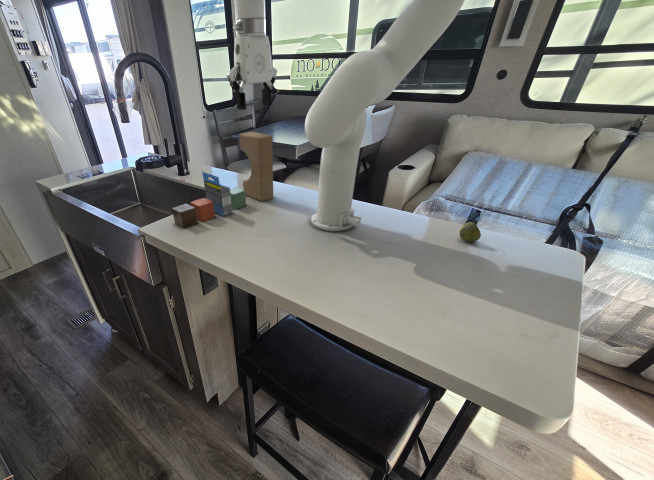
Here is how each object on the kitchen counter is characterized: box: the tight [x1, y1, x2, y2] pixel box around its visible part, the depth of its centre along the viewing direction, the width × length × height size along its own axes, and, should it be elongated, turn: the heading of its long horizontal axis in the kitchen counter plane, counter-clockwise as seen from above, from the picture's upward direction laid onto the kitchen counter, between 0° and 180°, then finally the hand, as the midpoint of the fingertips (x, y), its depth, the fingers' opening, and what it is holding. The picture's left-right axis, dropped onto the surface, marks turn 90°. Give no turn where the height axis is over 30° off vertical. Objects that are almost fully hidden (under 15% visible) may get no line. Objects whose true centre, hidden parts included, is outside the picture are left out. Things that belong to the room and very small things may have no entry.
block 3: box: [230, 187, 247, 210], centre depth 104 cm, size 5×5×5 cm
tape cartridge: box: [201, 171, 233, 217], centre depth 98 cm, size 9×4×12 cm, turn 43°
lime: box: [458, 221, 482, 243], centre depth 78 cm, size 4×5×5 cm
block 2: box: [190, 197, 216, 223], centre depth 97 cm, size 5×5×5 cm
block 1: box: [171, 203, 199, 229], centre depth 94 cm, size 5×5×5 cm
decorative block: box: [238, 131, 274, 202], centre depth 105 cm, size 11×6×20 cm, turn 38°
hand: (254, 107), depth 89 cm, fingers open, 9 cm apart
